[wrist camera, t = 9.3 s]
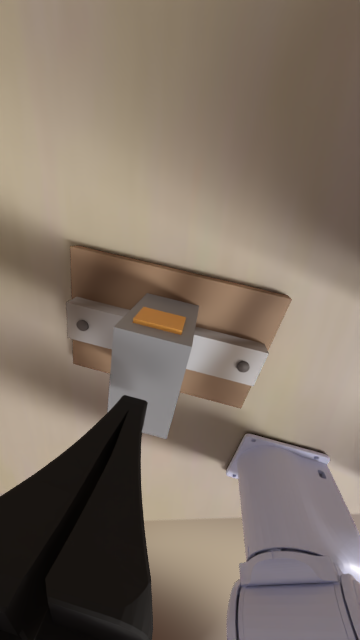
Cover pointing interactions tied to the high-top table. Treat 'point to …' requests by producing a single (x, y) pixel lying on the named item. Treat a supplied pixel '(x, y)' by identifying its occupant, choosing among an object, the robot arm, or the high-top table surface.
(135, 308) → the block
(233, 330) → the rail board
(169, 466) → the high-top table surface
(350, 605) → the robot arm
